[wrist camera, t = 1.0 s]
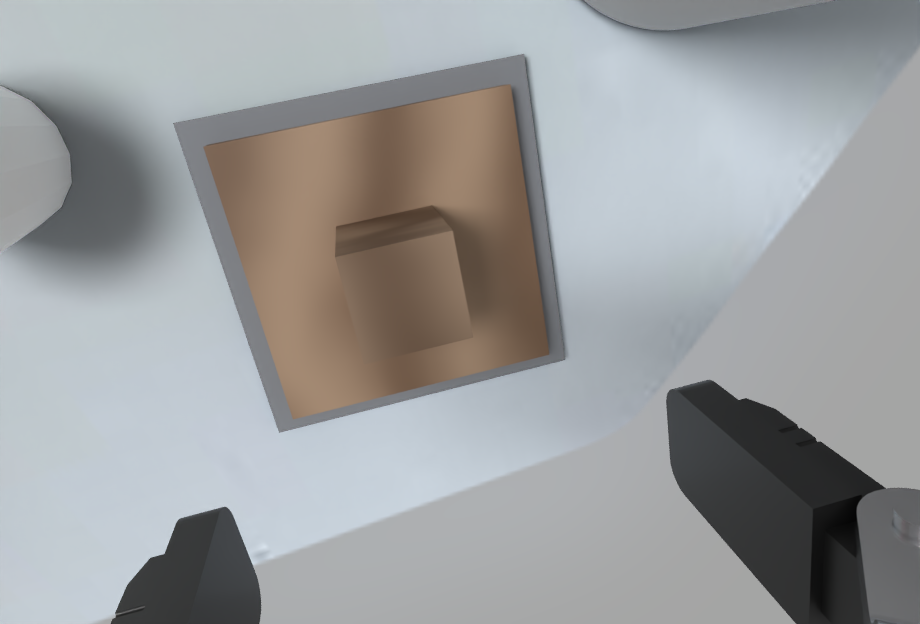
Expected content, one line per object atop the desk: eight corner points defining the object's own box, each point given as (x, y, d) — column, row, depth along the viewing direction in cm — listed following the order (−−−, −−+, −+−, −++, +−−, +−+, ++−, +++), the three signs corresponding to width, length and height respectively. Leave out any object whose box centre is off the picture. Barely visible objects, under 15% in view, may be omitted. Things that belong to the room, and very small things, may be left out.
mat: (520, 54, 25) (523, 54, 25) (560, 355, 30) (564, 359, 30) (177, 122, 24) (173, 123, 23) (280, 426, 29) (279, 432, 28)
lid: (504, 84, 25) (550, 82, 19) (542, 346, 29) (590, 405, 24) (208, 144, 24) (168, 160, 18) (294, 408, 28) (283, 486, 23)
